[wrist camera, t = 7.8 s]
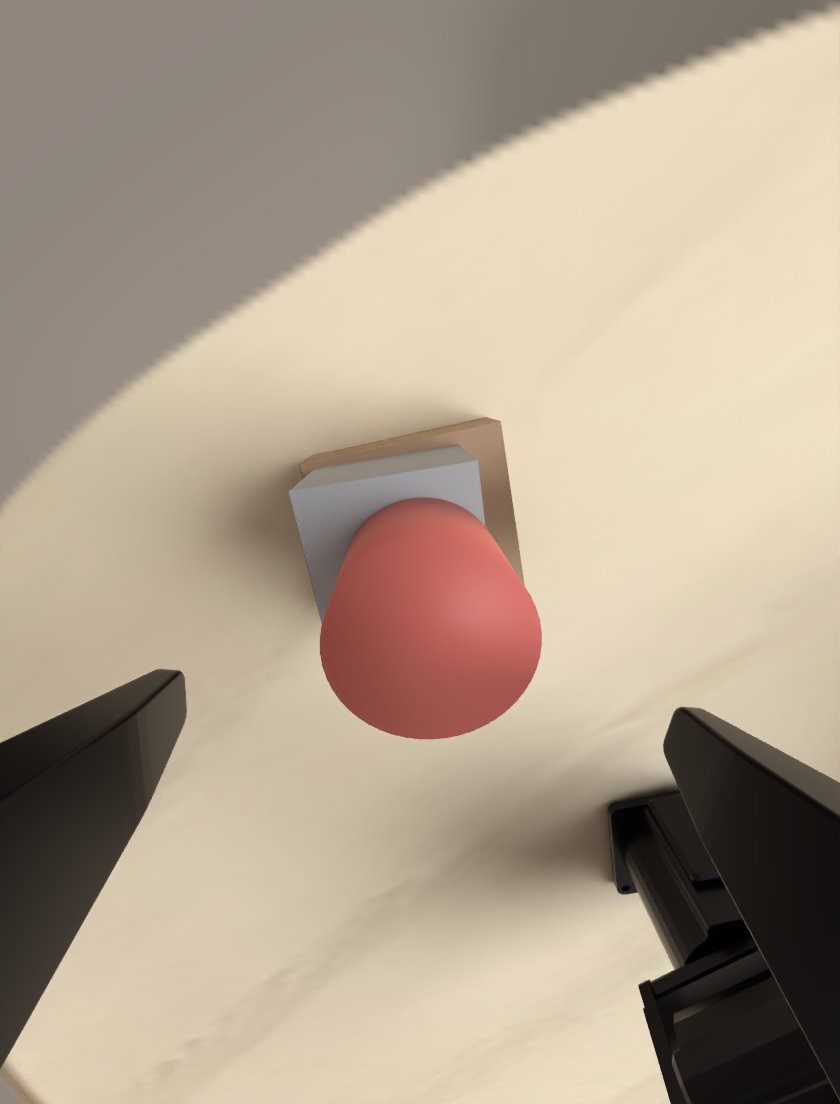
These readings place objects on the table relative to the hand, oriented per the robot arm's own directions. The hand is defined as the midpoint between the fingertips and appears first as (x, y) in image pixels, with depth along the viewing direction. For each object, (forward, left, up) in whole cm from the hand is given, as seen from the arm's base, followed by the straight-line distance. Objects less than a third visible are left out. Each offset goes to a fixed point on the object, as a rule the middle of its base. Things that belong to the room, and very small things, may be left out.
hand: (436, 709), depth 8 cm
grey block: (+1, 0, -9) cm, 9 cm away
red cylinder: (+1, 0, -5) cm, 5 cm away
